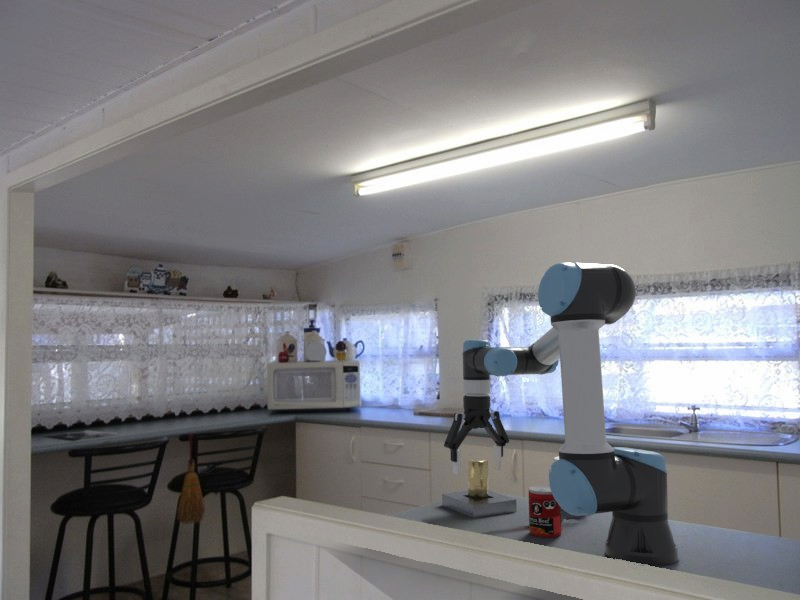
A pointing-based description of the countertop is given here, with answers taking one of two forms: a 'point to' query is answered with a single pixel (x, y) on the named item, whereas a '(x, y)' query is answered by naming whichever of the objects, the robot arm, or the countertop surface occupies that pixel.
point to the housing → (479, 504)
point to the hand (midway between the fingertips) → (477, 471)
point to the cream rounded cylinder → (478, 479)
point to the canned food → (544, 512)
